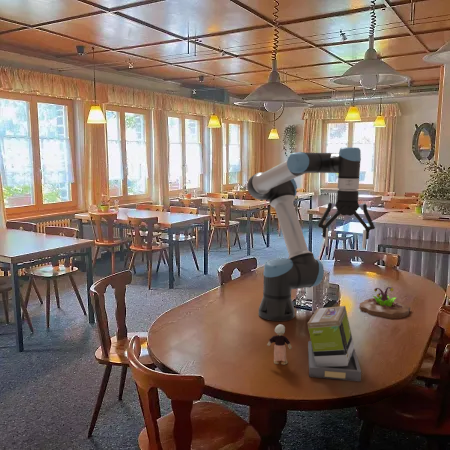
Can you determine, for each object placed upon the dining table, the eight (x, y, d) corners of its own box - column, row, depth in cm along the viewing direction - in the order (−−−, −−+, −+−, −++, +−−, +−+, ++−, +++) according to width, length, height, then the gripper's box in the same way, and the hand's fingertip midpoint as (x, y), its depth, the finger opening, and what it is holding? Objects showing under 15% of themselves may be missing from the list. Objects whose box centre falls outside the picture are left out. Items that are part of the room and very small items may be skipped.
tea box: (325, 349, 152) (316, 307, 152) (355, 348, 148) (346, 304, 147) (315, 367, 139) (306, 321, 138) (348, 367, 134) (339, 319, 134)
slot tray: (309, 377, 135) (309, 368, 134) (308, 349, 154) (308, 341, 154) (360, 382, 132) (361, 372, 132) (352, 352, 152) (353, 344, 152)
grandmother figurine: (290, 360, 146) (291, 322, 144) (291, 365, 142) (292, 327, 140) (266, 359, 146) (267, 322, 144) (267, 364, 142) (268, 326, 141)
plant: (396, 322, 182) (398, 295, 181) (352, 310, 196) (354, 285, 194) (416, 311, 196) (418, 286, 195) (374, 300, 210) (376, 277, 208)
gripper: (313, 189, 162) (311, 247, 165) (385, 191, 158) (381, 250, 161) (313, 188, 170) (310, 243, 173) (381, 190, 166) (377, 246, 169)
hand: (344, 247), depth 167 cm, fingers open, 13 cm apart
